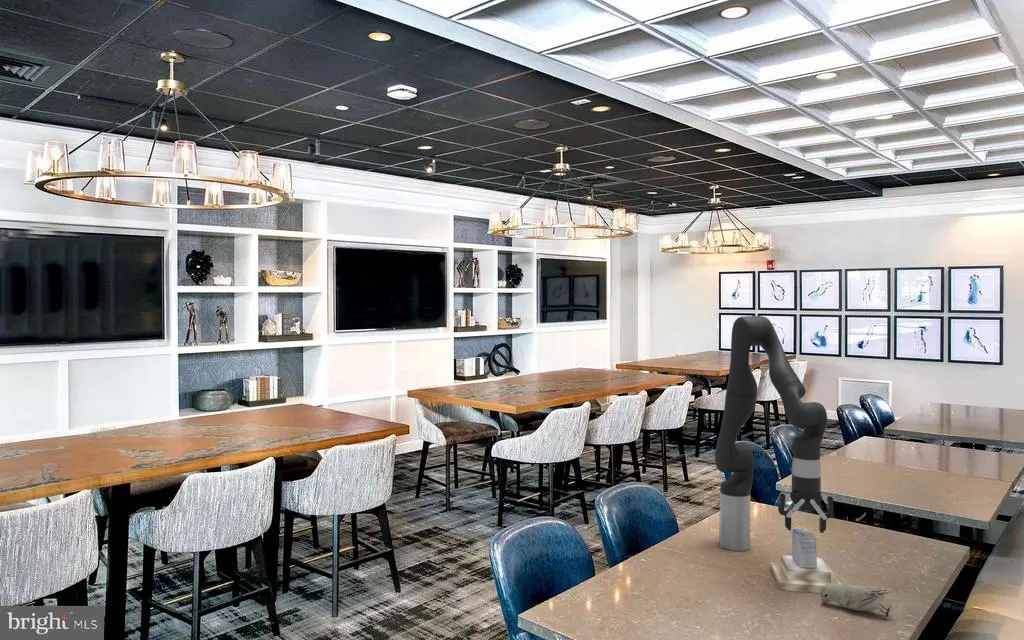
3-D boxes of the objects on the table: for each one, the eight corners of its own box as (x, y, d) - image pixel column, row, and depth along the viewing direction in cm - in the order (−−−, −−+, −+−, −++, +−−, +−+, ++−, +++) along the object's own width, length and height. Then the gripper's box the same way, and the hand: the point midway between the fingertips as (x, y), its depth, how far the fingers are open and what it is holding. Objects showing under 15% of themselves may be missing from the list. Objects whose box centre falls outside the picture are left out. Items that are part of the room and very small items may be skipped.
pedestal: (780, 590, 189) (780, 571, 189) (770, 568, 205) (770, 551, 205) (843, 594, 186) (843, 576, 186) (828, 572, 202) (828, 555, 202)
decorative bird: (822, 600, 183) (823, 571, 183) (892, 615, 174) (892, 585, 174) (819, 607, 179) (819, 578, 179) (890, 623, 170) (890, 592, 170)
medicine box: (817, 568, 191) (817, 537, 191) (800, 568, 192) (800, 536, 192) (807, 558, 199) (808, 528, 199) (791, 558, 200) (791, 528, 200)
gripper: (781, 475, 193) (780, 533, 193) (837, 478, 190) (835, 537, 191) (777, 469, 200) (776, 525, 201) (830, 471, 197) (829, 528, 198)
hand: (805, 530), depth 196 cm, fingers open, 8 cm apart
